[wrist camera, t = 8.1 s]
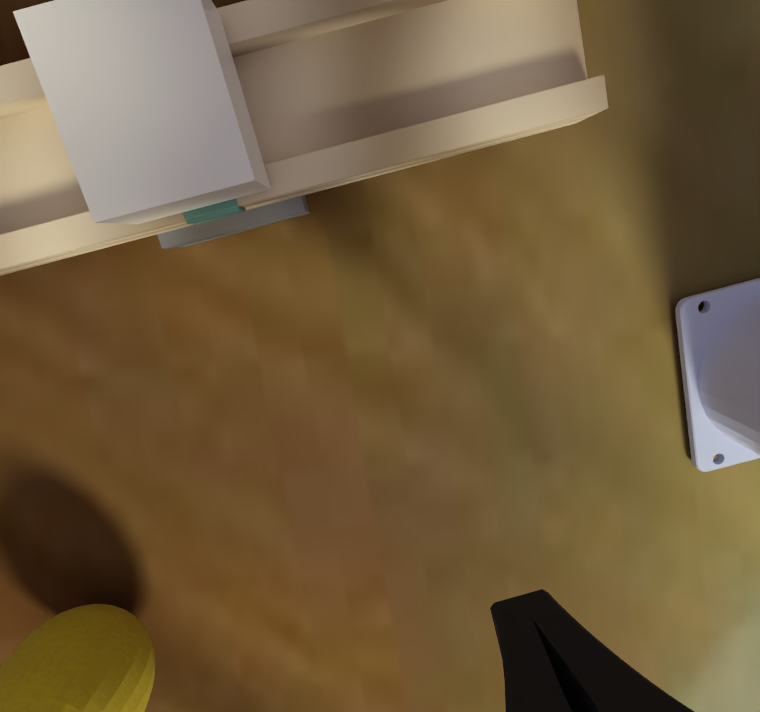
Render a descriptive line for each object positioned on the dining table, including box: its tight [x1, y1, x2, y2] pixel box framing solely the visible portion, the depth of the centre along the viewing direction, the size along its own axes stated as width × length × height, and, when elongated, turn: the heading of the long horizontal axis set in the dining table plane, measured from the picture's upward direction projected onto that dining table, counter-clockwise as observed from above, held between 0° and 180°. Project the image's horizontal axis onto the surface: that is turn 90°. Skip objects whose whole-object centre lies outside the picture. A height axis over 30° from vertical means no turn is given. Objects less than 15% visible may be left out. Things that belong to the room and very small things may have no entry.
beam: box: [0, 0, 608, 276], centre depth 16 cm, size 24×6×7 cm, turn 104°
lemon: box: [0, 604, 155, 712], centre depth 19 cm, size 6×6×8 cm
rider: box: [13, 0, 271, 224], centre depth 13 cm, size 4×5×4 cm
